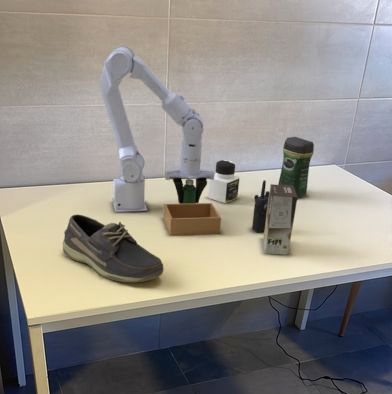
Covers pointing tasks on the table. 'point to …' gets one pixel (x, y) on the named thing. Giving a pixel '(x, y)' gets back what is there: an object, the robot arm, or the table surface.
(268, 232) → the coffee box
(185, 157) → the robot arm
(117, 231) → the boat shoe
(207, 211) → the box
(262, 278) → the table surface
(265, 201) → the two-way radio
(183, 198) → the bottle
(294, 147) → the coffee jar
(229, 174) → the medicine bottle
